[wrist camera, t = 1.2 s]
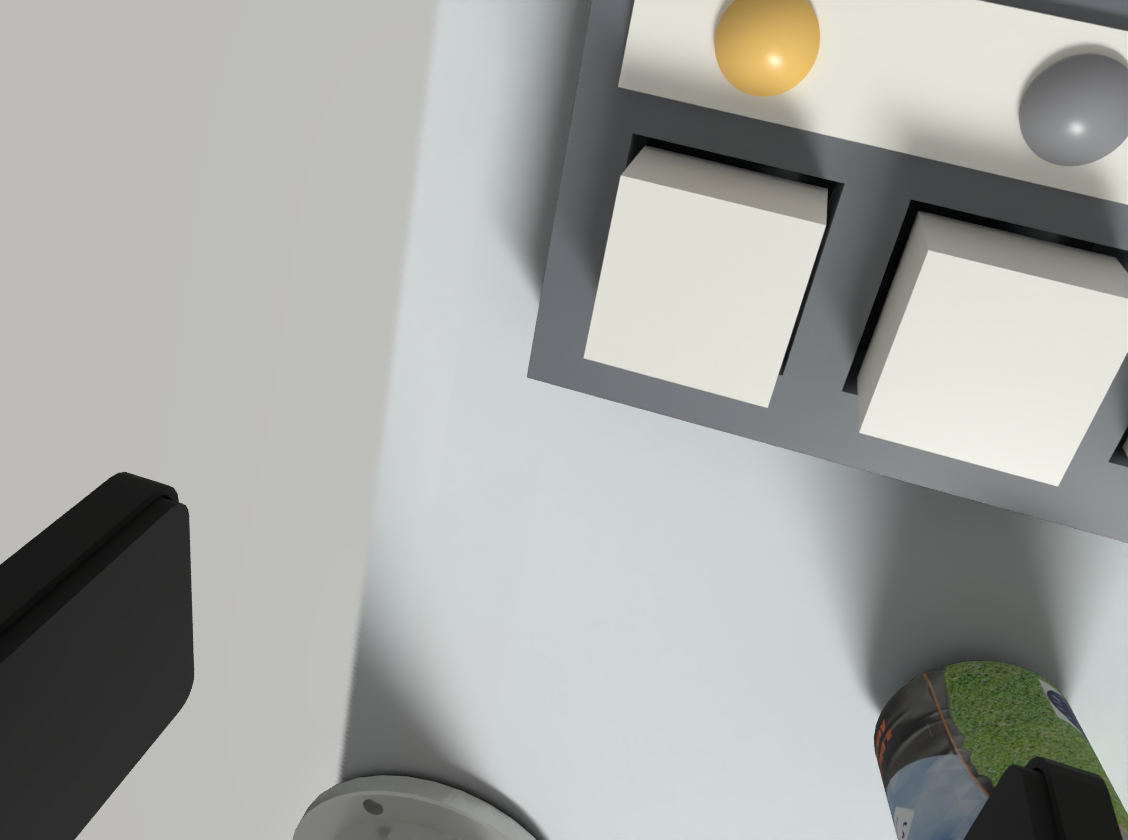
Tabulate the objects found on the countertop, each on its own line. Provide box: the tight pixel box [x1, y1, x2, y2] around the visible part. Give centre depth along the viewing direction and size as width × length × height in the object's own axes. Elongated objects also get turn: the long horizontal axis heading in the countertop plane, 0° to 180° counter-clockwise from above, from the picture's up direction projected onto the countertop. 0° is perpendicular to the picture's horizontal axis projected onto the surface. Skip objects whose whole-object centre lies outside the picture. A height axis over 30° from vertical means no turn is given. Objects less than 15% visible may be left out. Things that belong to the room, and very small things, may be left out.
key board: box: [527, 0, 1128, 543], centre depth 23 cm, size 12×21×4 cm, turn 80°
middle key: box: [857, 210, 1128, 486], centre depth 22 cm, size 4×4×3 cm
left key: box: [584, 145, 828, 408], centre depth 23 cm, size 4×4×3 cm
